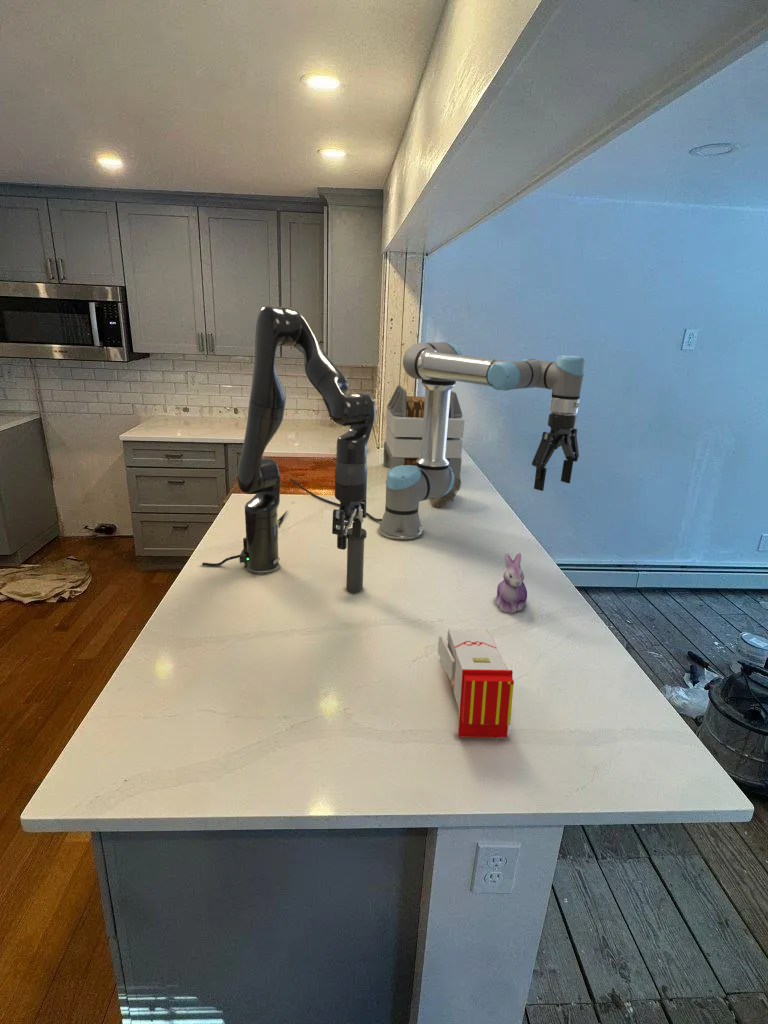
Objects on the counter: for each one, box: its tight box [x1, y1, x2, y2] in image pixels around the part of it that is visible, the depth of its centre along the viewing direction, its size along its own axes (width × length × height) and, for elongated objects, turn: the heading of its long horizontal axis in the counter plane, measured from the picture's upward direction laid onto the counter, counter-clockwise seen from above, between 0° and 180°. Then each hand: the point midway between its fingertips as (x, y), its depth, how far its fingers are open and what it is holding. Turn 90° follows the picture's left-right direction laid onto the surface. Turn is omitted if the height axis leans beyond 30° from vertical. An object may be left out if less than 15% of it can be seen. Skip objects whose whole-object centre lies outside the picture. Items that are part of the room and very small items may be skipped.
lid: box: [346, 527, 367, 541], centre depth 154 cm, size 6×6×2 cm
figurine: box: [495, 552, 528, 614], centre depth 152 cm, size 9×10×15 cm
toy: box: [437, 628, 515, 738], centre depth 117 cm, size 12×13×30 cm
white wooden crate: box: [383, 384, 465, 479], centre depth 268 cm, size 34×33×41 cm
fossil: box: [429, 476, 462, 508], centre depth 235 cm, size 22×10×15 cm
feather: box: [278, 510, 288, 528], centre depth 213 cm, size 2×28×2 cm
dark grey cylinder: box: [345, 539, 365, 594], centre depth 156 cm, size 5×5×17 cm
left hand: (349, 542), depth 139 cm, fingers open, 8 cm apart
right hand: (552, 485), depth 166 cm, fingers open, 13 cm apart
